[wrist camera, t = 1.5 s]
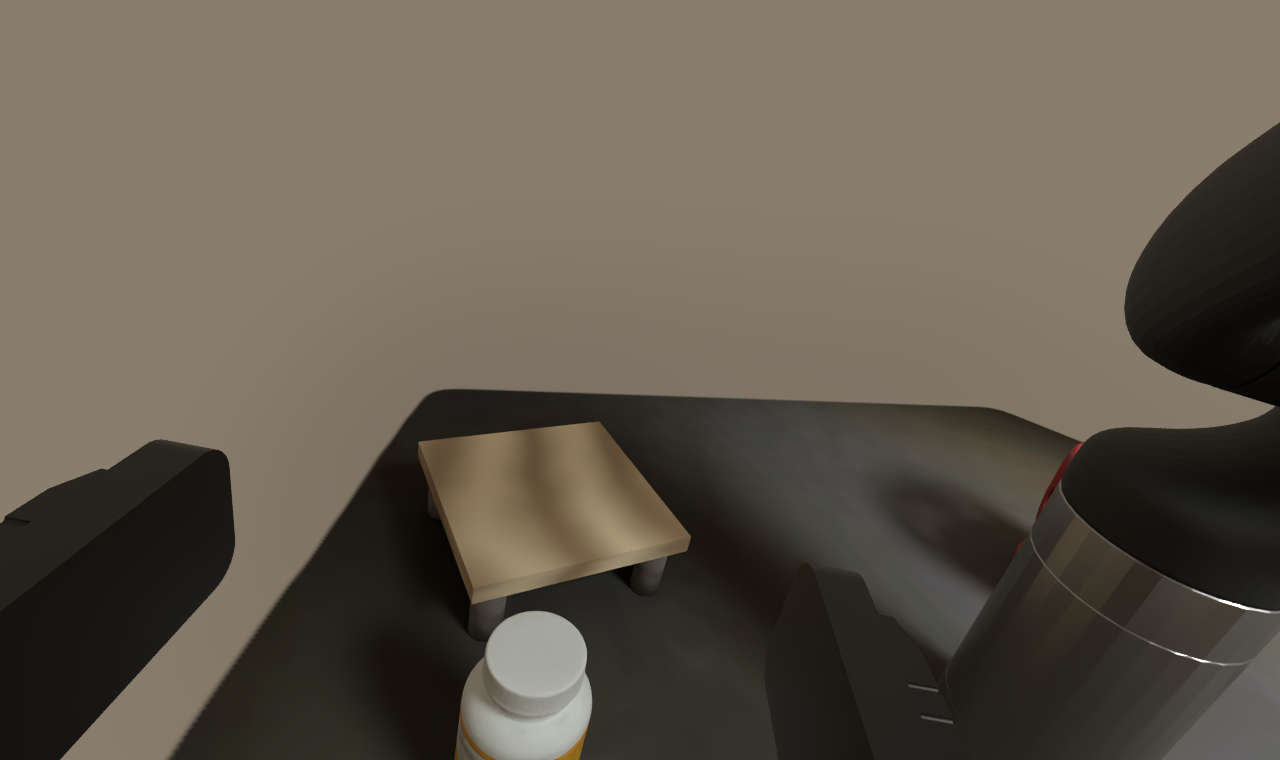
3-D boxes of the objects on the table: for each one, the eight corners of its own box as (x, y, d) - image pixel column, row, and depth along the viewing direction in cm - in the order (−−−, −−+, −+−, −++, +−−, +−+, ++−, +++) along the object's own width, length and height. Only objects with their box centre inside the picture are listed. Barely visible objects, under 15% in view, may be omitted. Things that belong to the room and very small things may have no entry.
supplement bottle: (435, 852, 27) (448, 703, 22) (466, 730, 32) (481, 589, 27) (563, 864, 27) (600, 722, 23) (574, 742, 32) (606, 606, 28)
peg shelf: (589, 473, 53) (599, 421, 50) (673, 595, 42) (691, 536, 40) (416, 500, 46) (418, 441, 43) (466, 655, 35) (473, 588, 33)
